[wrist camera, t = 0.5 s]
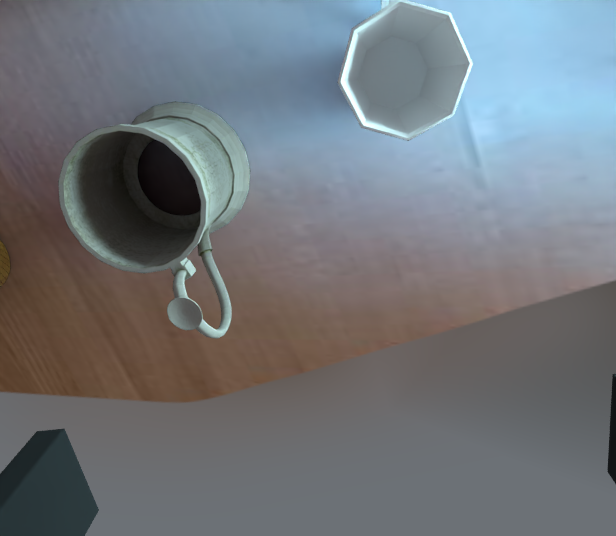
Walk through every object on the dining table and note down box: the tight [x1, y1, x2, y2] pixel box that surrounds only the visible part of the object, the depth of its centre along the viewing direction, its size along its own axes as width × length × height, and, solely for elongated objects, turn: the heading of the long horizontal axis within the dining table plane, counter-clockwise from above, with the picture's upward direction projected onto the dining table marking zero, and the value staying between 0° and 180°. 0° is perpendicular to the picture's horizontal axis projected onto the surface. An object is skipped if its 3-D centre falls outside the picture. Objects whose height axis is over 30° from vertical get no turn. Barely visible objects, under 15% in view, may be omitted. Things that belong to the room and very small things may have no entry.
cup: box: [337, 0, 473, 141], centre depth 29 cm, size 7×10×8 cm
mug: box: [58, 102, 250, 338], centre depth 32 cm, size 14×10×12 cm
